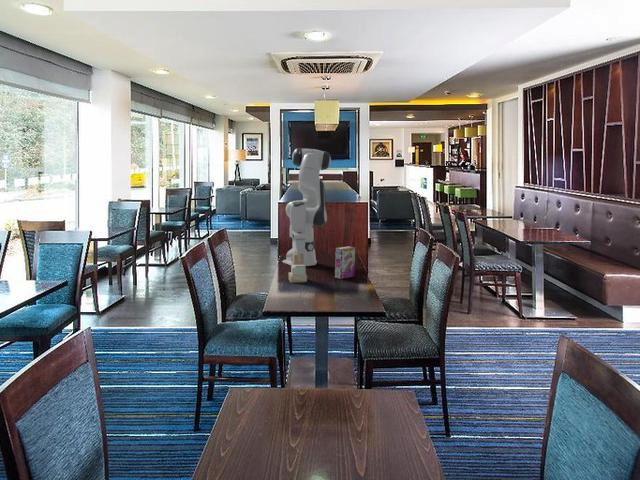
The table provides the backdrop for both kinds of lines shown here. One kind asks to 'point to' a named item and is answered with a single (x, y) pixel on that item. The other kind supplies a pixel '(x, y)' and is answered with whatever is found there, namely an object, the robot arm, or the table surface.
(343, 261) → the candy bar box
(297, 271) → the tower top
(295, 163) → the robot arm
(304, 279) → the tower base
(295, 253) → the terracotta cube
